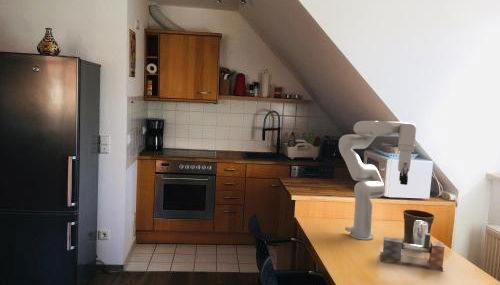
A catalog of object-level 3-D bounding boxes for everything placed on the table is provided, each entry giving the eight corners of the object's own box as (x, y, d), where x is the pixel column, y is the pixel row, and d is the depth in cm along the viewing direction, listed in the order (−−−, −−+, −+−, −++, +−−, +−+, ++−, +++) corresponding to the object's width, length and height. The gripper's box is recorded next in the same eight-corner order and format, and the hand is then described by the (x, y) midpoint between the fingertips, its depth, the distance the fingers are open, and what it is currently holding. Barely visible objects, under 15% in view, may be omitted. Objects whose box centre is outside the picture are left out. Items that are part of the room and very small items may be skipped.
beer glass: (425, 249, 212) (427, 221, 211) (426, 253, 206) (429, 225, 204) (411, 247, 214) (413, 219, 213) (411, 251, 208) (414, 223, 206)
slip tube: (394, 249, 193) (396, 230, 192) (394, 247, 196) (395, 228, 195) (438, 255, 187) (439, 236, 186) (437, 253, 190) (438, 234, 189)
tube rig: (380, 261, 192) (382, 239, 191) (380, 254, 201) (382, 233, 200) (442, 271, 184) (445, 248, 183) (439, 263, 193) (441, 241, 192)
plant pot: (432, 240, 227) (435, 212, 226) (432, 249, 213) (434, 219, 211) (401, 235, 234) (404, 207, 232) (399, 243, 219) (401, 214, 218)
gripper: (397, 146, 208) (394, 178, 209) (398, 149, 191) (395, 185, 193) (412, 147, 205) (409, 180, 207) (415, 150, 189) (412, 186, 191)
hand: (403, 182), depth 200 cm, fingers open, 9 cm apart
